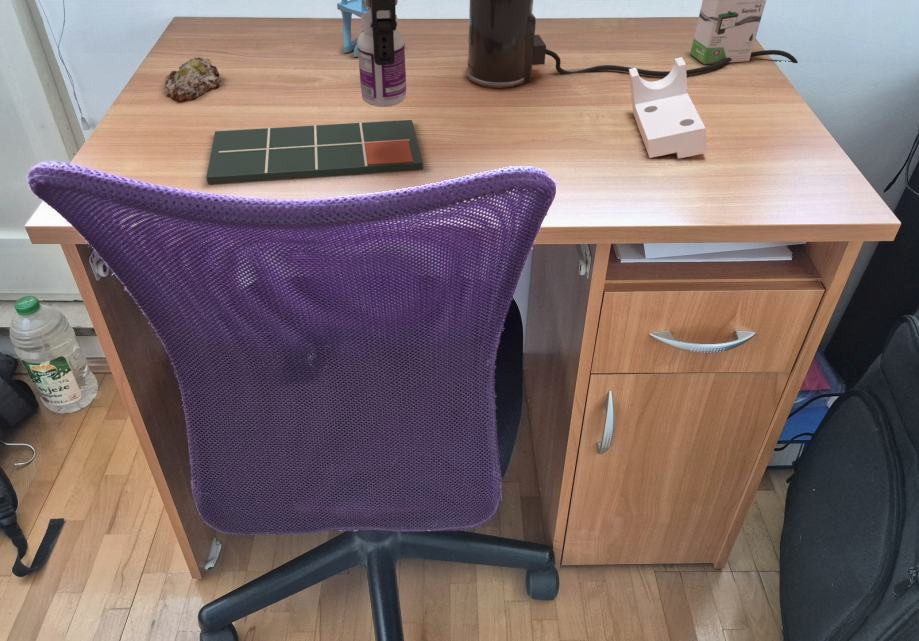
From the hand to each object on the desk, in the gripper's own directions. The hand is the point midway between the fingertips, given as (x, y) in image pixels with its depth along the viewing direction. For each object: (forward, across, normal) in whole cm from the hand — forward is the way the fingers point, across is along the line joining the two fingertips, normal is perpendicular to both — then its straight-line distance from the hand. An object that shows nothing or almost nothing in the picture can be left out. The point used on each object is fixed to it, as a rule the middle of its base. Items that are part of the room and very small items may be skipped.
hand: (382, 52), depth 83 cm
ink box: (+14, +27, -57) cm, 65 cm away
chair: (+14, +38, 0) cm, 40 cm away
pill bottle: (+6, 0, 0) cm, 6 cm away
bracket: (+14, +2, -37) cm, 40 cm away
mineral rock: (+14, +26, +27) cm, 40 cm away
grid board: (+14, +3, +9) cm, 17 cm away
